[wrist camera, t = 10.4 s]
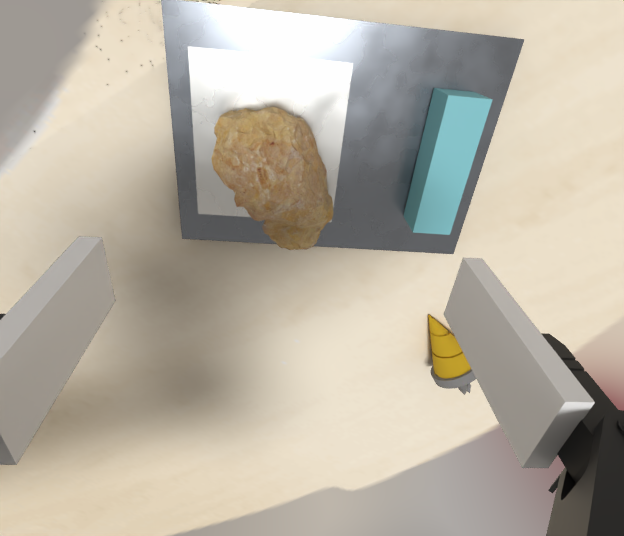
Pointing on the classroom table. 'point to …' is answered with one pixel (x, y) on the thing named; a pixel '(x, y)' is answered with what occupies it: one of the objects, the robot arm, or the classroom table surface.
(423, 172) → the bar
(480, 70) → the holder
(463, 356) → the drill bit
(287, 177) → the stone tool
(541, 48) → the classroom table surface
